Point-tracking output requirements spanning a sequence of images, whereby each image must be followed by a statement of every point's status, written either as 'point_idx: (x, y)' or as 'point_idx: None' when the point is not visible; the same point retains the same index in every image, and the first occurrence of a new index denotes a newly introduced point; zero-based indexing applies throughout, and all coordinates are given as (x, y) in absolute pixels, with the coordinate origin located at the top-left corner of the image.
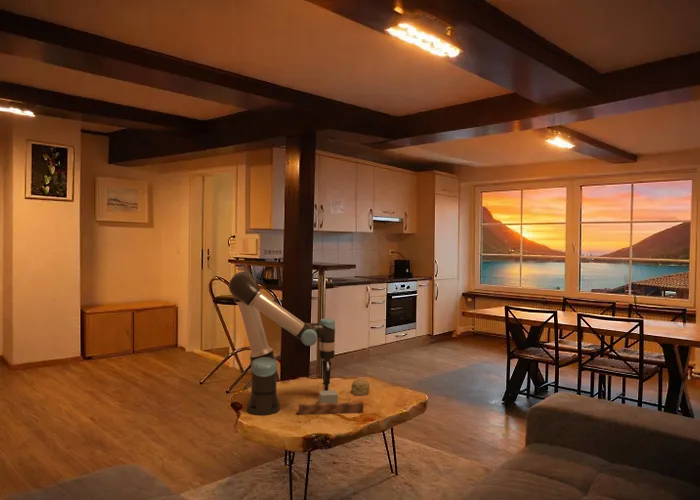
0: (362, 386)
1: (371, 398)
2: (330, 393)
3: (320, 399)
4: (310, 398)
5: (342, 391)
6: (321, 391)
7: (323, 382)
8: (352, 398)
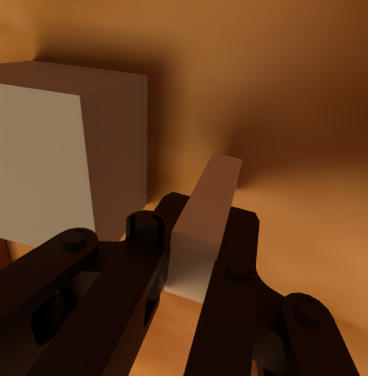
0: None
1: (167, 370)
2: (3, 191)
3: (22, 71)
4: (303, 14)
5: (357, 341)
6: (59, 122)
7: (237, 258)
8: (188, 314)
